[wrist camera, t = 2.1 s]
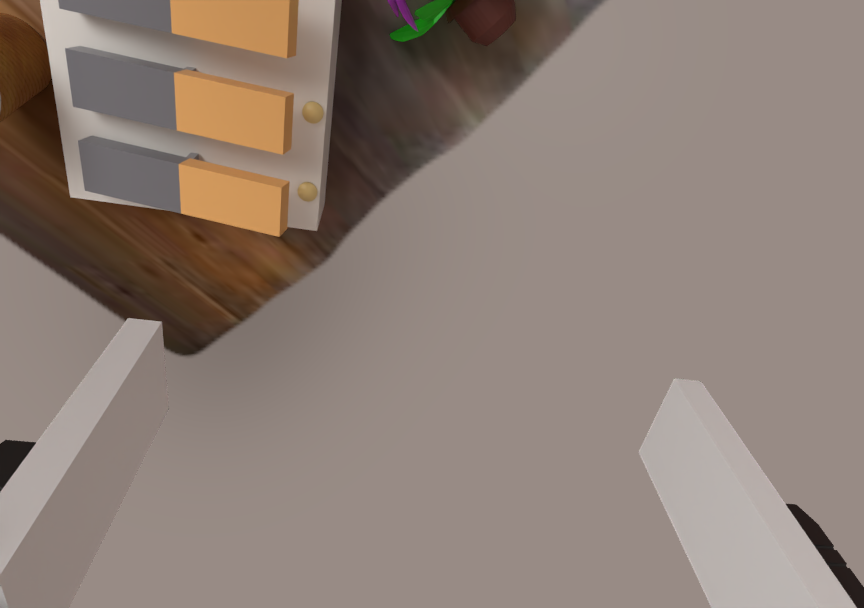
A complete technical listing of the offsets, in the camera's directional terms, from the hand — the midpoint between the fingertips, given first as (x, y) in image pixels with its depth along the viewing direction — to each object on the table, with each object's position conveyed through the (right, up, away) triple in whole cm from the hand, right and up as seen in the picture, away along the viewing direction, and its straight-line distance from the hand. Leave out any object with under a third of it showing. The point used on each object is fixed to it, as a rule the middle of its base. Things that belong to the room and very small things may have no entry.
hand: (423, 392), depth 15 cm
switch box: (-18, +21, +34) cm, 44 cm away
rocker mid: (-18, +17, +27) cm, 36 cm away
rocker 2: (-19, +11, +30) cm, 37 cm away
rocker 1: (-17, +22, +23) cm, 36 cm away
